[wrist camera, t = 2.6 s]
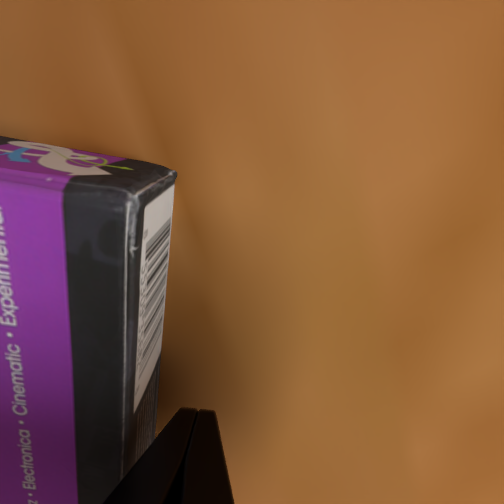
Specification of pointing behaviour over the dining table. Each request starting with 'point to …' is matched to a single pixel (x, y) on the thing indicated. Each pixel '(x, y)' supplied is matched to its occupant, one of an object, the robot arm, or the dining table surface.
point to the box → (78, 318)
